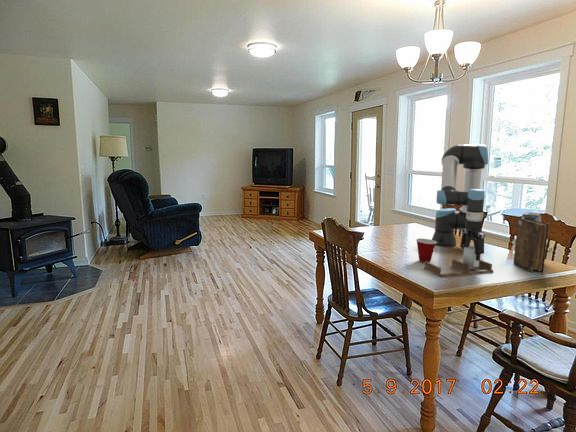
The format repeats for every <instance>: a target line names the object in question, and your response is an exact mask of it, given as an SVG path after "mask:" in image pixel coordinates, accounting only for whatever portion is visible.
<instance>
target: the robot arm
mask: <svg viewBox="0 0 576 432" xmlns="http://www.w3.org/2000/svg"><path fill="white" fill-rule="evenodd" d="M459 165H462V168H463V169H464V170H465V173H464V187H463V190H457V179H458V177H457V174H458V166H459ZM486 165H489V153H488V146H487V145H486V144H479V143H475V144H473V143H471V144H470V143H469V144H455V145H453V146H451V147H449V148H448V149H447V150H446V151H445V152H444V154H443V155H442V157H441V166H442V176H441V187H440V189H441V190H439V189H438V190H437V191H436V204H437V205H449V206H461V207H460V208H459V210H457V209H456V208H451V207H450V208H448V207H447V208H439V209H437V210H436V212H435V221H434V232H433V236H432V238H431V240H433V241H436V242H437V243H436V245H435V246H438V247H443V248H445V247H446V248H448V247H449V248H452V247H453V248H454V247H456V246H457V238H456V236H455V230H461V239H460V246H459V247H460V248H462V257H463V256H464V247H469V246H471V242H472V241H473V246H474V248H475V253H474V261H473V267H472V268H478V267H477V266H479V261H480V260H481V255H482V254H483V255H484V254H485V237H486V235H485V233H482V232H481V229H482V228H483V219H484V206H485V198H486V197H485V194H486V192H485V190H484V189H482V188H480V187H481V179H482V170H484V169H485V168H486Z"/></svg>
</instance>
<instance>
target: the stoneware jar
mask: <svg viewBox="0 0 576 432" xmlns="http://www.w3.org/2000/svg"><path fill="white" fill-rule="evenodd" d="M474 253H475V248H474V245H469V247H464V256H463V255H462V263H464V264H466V265H469V266H470V267H469V268H474V267H473V261H474ZM476 268H479V267H478V266H477V267H476Z"/></svg>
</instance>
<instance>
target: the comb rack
mask: <svg viewBox="0 0 576 432" xmlns="http://www.w3.org/2000/svg"><path fill="white" fill-rule="evenodd" d="M451 267H452V268H454V269H455V270H458V271H456V272H452V271H451V272H445V273H441V272H442V268H441V267H440V266H437V265H436V264H434V263H431V262H427V261H426V262H425V263H424V270H426V271H428V272H430V273H431V274H433V275H436V276H437V277H439V278H443V277H444V278H445V276H447V277H457V276H456V275H458V276H466V275H465V274H469V275H478V274H477V273H481V274H488V272H492V273H494V269H493V268H492V267H493V264H492V263H491V262H488V261H485V260H482V259H480V261H479V266H478V267H477V268H479V269H478V270H470V268H471V267H470V266H469V265H466V264H464V263H463V261H459V260H457V259H451ZM481 268H482V269H481ZM484 269H485V270H484Z"/></svg>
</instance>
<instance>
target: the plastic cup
mask: <svg viewBox="0 0 576 432" xmlns="http://www.w3.org/2000/svg"><path fill="white" fill-rule="evenodd" d="M415 240H416V245H417V255H418V260H419V262H420V263H424V264H425V262H426V261H427V262H429V263H431V261H432V257H433V254H434V250H435V246H436V243H437V242H436V241H433V240H432V239H429V238H416V239H415Z"/></svg>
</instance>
